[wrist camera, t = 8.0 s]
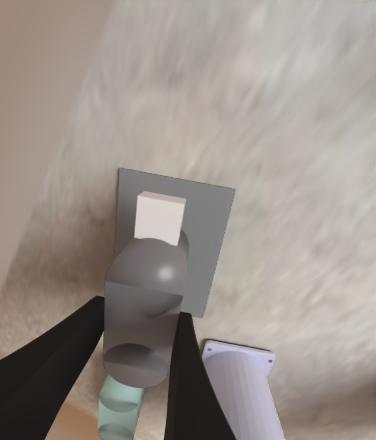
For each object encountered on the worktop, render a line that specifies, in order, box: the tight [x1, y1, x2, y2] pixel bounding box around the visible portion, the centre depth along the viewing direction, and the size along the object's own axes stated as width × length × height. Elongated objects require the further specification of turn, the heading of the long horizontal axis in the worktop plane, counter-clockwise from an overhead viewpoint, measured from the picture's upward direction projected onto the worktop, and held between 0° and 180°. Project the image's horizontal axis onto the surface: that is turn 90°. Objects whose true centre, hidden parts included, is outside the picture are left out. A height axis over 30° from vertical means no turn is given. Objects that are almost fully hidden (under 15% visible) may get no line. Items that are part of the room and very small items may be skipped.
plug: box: [103, 191, 189, 388], centre depth 12 cm, size 12×4×4 cm, turn 170°
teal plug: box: [98, 374, 145, 440], centre depth 22 cm, size 12×4×4 cm, turn 170°
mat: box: [114, 168, 235, 318], centre depth 18 cm, size 14×10×1 cm
